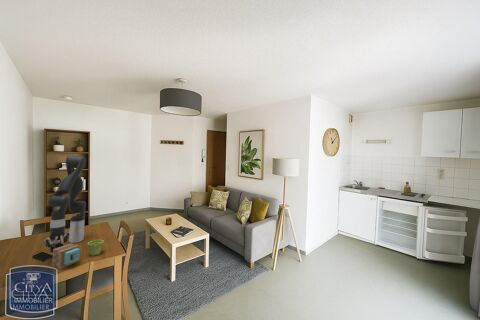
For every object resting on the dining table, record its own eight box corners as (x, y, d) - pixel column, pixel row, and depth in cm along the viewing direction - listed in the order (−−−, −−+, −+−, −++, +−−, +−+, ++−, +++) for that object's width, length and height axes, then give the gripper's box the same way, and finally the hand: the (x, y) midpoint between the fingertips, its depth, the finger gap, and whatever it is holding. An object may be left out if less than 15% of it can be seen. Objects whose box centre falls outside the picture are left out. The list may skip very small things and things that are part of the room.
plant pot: (92, 250, 147) (93, 239, 148) (105, 251, 148) (106, 239, 148) (83, 256, 138) (84, 244, 138) (97, 257, 139) (98, 244, 139)
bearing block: (52, 266, 125) (53, 249, 125) (70, 259, 134) (71, 243, 134) (60, 269, 122) (61, 251, 122) (77, 261, 132) (78, 245, 132)
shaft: (52, 252, 131) (53, 243, 131) (57, 250, 133) (57, 241, 133) (73, 259, 124) (73, 249, 124) (77, 257, 126) (78, 247, 126)
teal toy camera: (63, 263, 123) (64, 252, 123) (76, 258, 130) (76, 248, 130) (67, 264, 122) (67, 253, 122) (79, 259, 129) (79, 248, 129)
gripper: (66, 221, 140) (65, 245, 139) (40, 227, 126) (39, 254, 126) (73, 223, 137) (72, 247, 137) (47, 229, 124) (46, 256, 124)
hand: (56, 250), depth 132 cm, fingers open, 4 cm apart
